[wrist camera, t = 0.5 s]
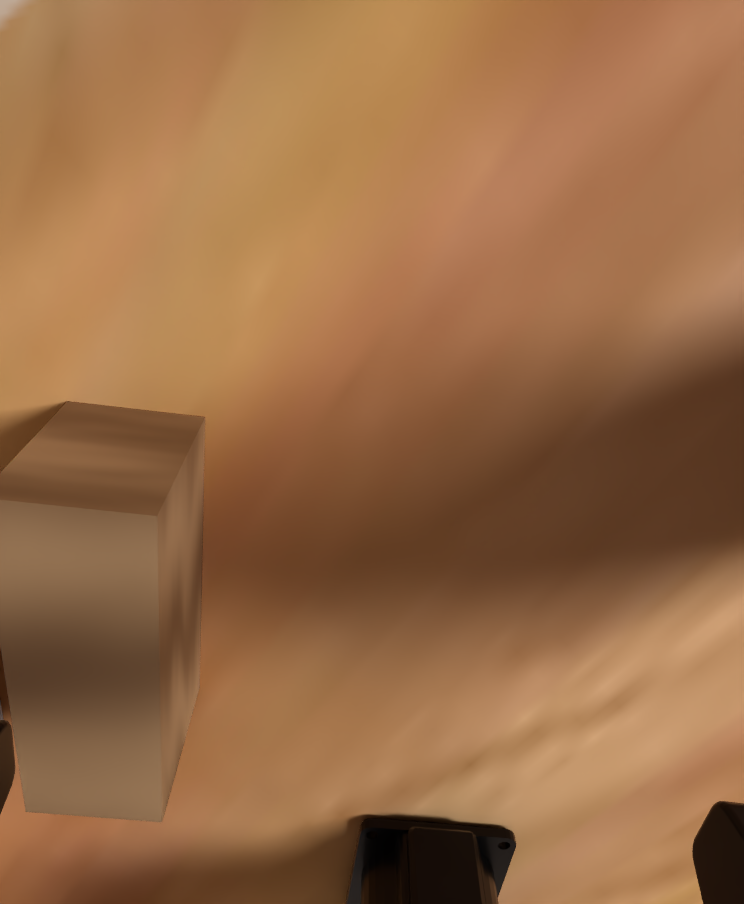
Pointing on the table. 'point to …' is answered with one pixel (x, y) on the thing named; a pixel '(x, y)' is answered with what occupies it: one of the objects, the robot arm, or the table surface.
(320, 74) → the table surface
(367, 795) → the table surface
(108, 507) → the brown rectangular block
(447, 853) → the robot arm
